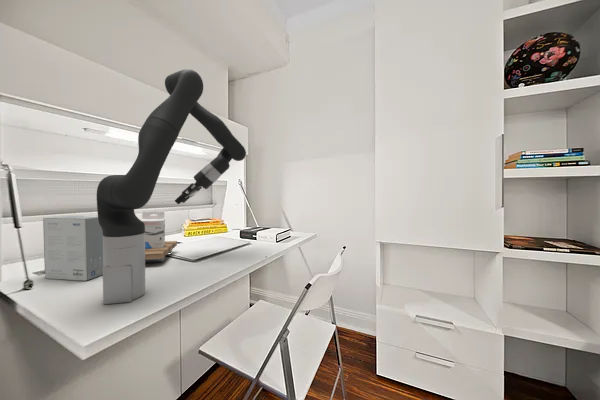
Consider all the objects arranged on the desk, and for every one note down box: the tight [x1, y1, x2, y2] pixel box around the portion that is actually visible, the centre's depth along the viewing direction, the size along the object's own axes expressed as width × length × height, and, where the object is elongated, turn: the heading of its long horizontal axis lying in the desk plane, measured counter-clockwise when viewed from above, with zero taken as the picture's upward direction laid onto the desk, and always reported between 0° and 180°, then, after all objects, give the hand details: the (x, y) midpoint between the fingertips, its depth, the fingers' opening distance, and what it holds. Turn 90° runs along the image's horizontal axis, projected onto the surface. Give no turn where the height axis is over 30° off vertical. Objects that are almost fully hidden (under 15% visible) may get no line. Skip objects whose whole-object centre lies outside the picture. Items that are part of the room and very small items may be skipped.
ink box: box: [140, 211, 166, 249], centre depth 97 cm, size 8×5×15 cm, turn 113°
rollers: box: [145, 249, 173, 264], centre depth 97 cm, size 13×12×3 cm
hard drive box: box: [42, 215, 103, 282], centre depth 77 cm, size 16×8×20 cm, turn 84°
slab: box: [145, 240, 178, 259], centre depth 97 cm, size 22×14×2 cm, turn 15°
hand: (179, 202), depth 99 cm, fingers open, 8 cm apart
